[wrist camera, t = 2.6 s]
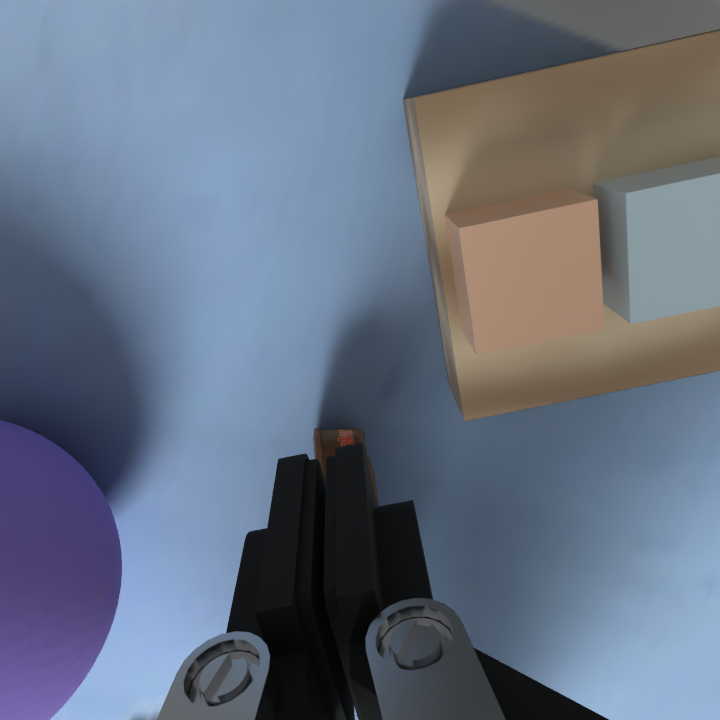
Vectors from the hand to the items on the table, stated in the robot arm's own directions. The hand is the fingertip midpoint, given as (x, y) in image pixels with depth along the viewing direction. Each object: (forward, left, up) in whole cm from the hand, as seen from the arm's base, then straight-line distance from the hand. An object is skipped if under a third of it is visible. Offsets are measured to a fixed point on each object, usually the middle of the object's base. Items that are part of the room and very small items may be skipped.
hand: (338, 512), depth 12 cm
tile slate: (0, -13, -15) cm, 20 cm away
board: (0, -11, -19) cm, 22 cm away
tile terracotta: (0, -7, -15) cm, 17 cm away
